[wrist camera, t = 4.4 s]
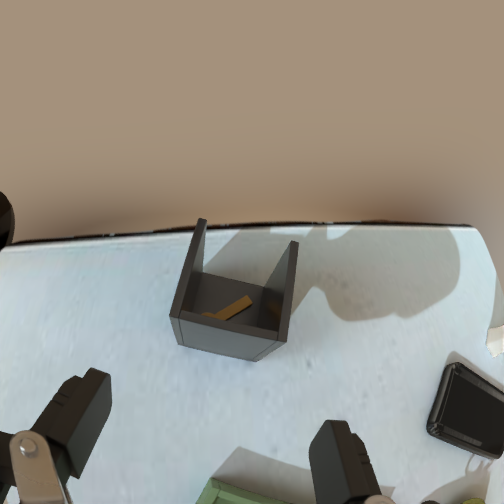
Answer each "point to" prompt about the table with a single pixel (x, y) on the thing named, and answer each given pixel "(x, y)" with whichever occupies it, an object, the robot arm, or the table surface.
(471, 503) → the green round disc
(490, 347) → the perfume bottle
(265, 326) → the holder
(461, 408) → the phone
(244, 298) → the key
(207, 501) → the tray
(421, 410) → the table surface
